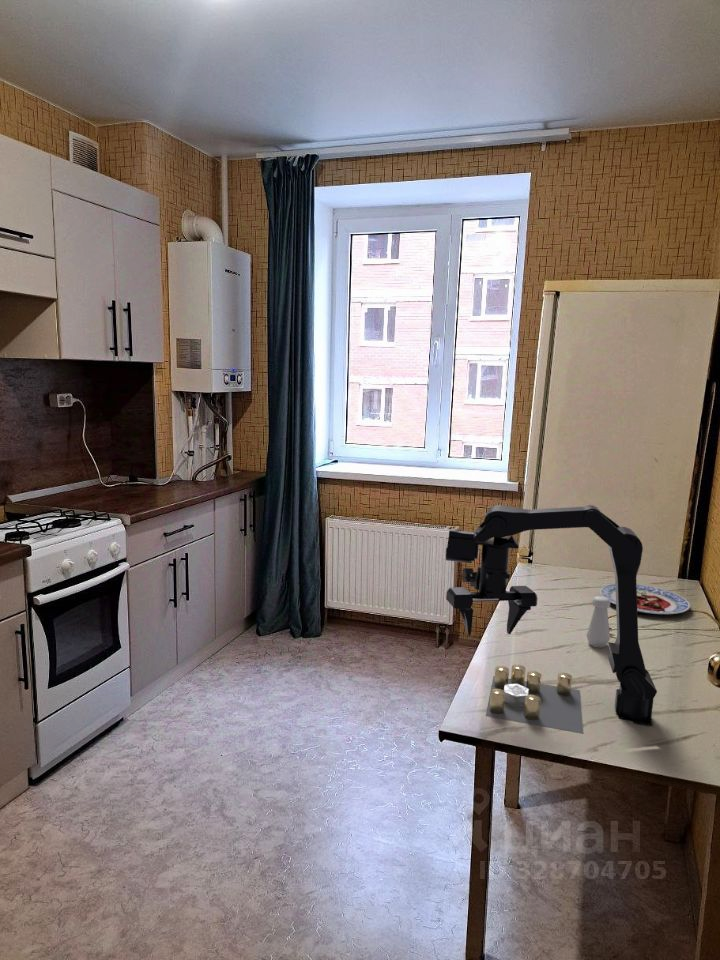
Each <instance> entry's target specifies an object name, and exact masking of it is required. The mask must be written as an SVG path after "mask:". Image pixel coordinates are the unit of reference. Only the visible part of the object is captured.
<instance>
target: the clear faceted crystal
mask: <svg viewBox="0 0 720 960" xmlns="http://www.w3.org/2000/svg"><path fill="white" fill-rule="evenodd" d="M504 692H505V703H508V704H510V705H512V706H514V707H519V706H525V697H526V695H528V688H526V687H523V686H521V685H519V684H508V685H505V688H504Z"/></svg>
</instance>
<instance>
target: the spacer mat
mask: <svg viewBox="0 0 720 960" xmlns="http://www.w3.org/2000/svg"><path fill="white" fill-rule="evenodd" d="M494 681H495V675H493V677H492V681H491V687H490V692H489V697H488V701H487V706H486V711H485V716H486V717H489V718H495V719H500V720H505V721H512V722H517V723H523V724H527V725H534V726H539V727H543V728H544V727H545V728H551V729H553V730H554V729H555V730H560V731H565V732H570V733H571V732H572V733H577V734H582V735H583V734H584V724H583V712H582V700H581V690H580V689H574V688H571V695H570V696H561V695H559V694H558V693H557V685H551V684H544V683H541V687H540V693H539V694H530V693H528V695H536V696H538V697H539V698H540V711H539V719H538V720H529V719H527V718H525V717H524V708H525V706H519V707H514V706H512V705H510V704H508V703H505V707H504V713H502V714H495V713H492V712H491V711H490V695H491V690H492V689H500V688H497V687H495V686H494ZM508 684H511V678H509V677H508ZM526 685H527V680H525V681H524V686H523V687H526ZM501 690H503V691H504V689H501Z"/></svg>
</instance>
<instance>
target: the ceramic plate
mask: <svg viewBox="0 0 720 960" xmlns="http://www.w3.org/2000/svg"><path fill="white" fill-rule="evenodd" d="M599 592H600V596H602V597H606V598H608V599H609V600H610V604H611V603H612V604H614V605H616V587H615V583H613V584H607V585H606V586H603V587H602V588H601V589H600V591H599ZM690 608H691V604H690V602H689V601H688V600H687V599H686V598H684V597H682V595H681V596H680V595H679V594H678V593H675V592H672V591H669V590H665V589H663V588H659V587H655V586H650V585H645V584H644V585H642V584H637V613H638V612H639V613H645V614H654V615H675V614H677V615H678V614H682V613H685V612H687V611H689V609H690Z"/></svg>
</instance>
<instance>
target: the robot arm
mask: <svg viewBox="0 0 720 960" xmlns="http://www.w3.org/2000/svg"><path fill="white" fill-rule="evenodd" d="M573 528H575V529H577V528H578V529H579V528H589V529H590V530H591V531H592V532H593V533H594V534H596V536H598V537H599V538H600V539H601V540H602V541H603V542H604V543H605V544H606V545H607V547H608V552H609V556H610V558H611V559H610V560H611V562H612V567H613V570H614V584H615V587H616V604H615V607H616V608H615V609H616V610H615V611H616V613H615V615H616V633H617V634H616V638H615V641H614V642H610V641H609V642H608V643H607V645H608V649H609V656H608V662H609V665H610V668H611V672H612V673H613V674H615V676H616V679H617V680H618V682H619V688H617V689H615V697H614V698H615V699H614V711H615V713H616V714H617V716H618V717H617V718H618V719H619V720H623V721H627V722H632V723H634V724H637V725H638V724H640V725H645V726H653V719H652V715H653V707H654V699H655V696H656V695H657V693H658V691H657V690H658V689H657V688H656V685H655V683H654V681H653V679H652V677H651V674H650V673H649V671H648V669H646V666H645V661H644V657H643V654H642V650H641V645H640V644H639V642H640V641H639V624H638V623H639V622H638V621H639V619H638V617H639V615H638V614H639V613H638V611H637V585H638V584H637V576H638V572H639V571H640V570H639V569H640V567H641V566H640V565H641V562H642V556H643V551H644V547H643V542H642V541H641V539H640V538H639V537H638V535H637V534H636V533H635V532H634V531H633V530H632V529H631V528H629V527H626V526H620V525H618V524H617V523H616V522H615V521H614V520H613V519H611V518H609V516H607V515H606V514H604V513H603V512H602V511H601V510H600V509H599V508H598V507H597V506H596V505H591V504H588V505H585V506H575V507H574V506H571V507H554V508H553V507H552V508H536V509H534V508H533V509H526V508H520V507H515V506H510V505H509V506H508V505H499V504H497V505H496V504H495V505H493V506H491V507H489V508H488V510H486V512H485V515H484V519H483V521H482V522H481V524H479V526H477V527H476V529H475V531H467V530H460V529H459V530H458V529H456V528H455V529H453V528H450V529H449V531H448V539H447V544H446V548H445V561H446V562H447V561H449V562H455V563H456V562H457V563H465V564H466V563H467V564H473V562H475V560H479V553H480V552H479V551H480V546H481V554H480V555H481V557H480V565H478V566H477V571H474V568H473V567H463V568H462V574H461V578H462V579H461V580H462V582H463V583H469V587H473V589H475V590H476V591H477V590H478V591H477V592H476V591H474V592H473V591H472V592H470V591H469V590H468V589H467V588H466V586H462V587H461V586H460V587H449V588H448V589H447V591H446V594H445V595H446V597H445V599H446V601H447V602H448V603H449V604H450V605H451V606H452V608H453V609H456V610H457V611H458V612H459V613H460V615H461V618H462V621H463V625H464V629H465V633H466V635H467V637H470V636H471V634H472V628H473V617H474V609H473V608H472V606H473V605H474V603H475V602H501V601H507V603H508V615H507V622H506V633H507V635H511V634H512V633H513V631H514V629H515V627H517V625H518V623H519V621H520V620H521V619H522V617H523V616H524V615H525V614H526V613H527V612H528V611H531V609H532V607H537V606H538V599H539V598H538V594H537V593H536V592H535V591H533V590H532V589H531V588H529V587H528V586H527V585H511V586H510V587H509V590H508V591H507V583H508V579H511V573H510V572H509V560H510V559H509V558H510V549H517V550H518V549H520V542H519V541H518V540H517V539H516V538H515V537H514V536H515V535H518V534H520V533H523V532H527V531H533V530H554V529H555V530H557V529H573ZM492 538H493V539H492Z"/></svg>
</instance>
